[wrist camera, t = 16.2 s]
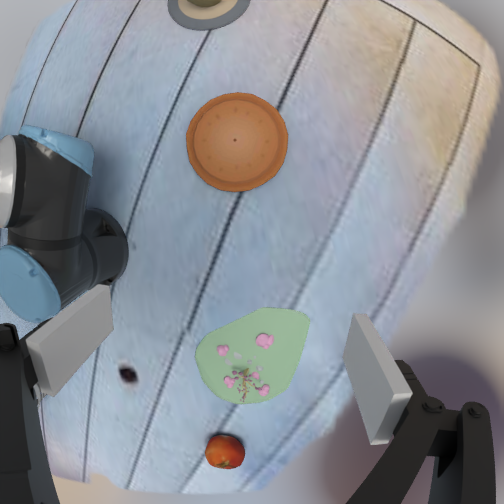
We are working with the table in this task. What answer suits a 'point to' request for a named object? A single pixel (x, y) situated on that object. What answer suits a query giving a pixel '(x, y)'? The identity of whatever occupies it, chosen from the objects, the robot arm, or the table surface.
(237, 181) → the pie
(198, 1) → the squeeze bottle
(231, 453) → the tomato
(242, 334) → the plant
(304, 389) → the table surface
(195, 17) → the coaster
